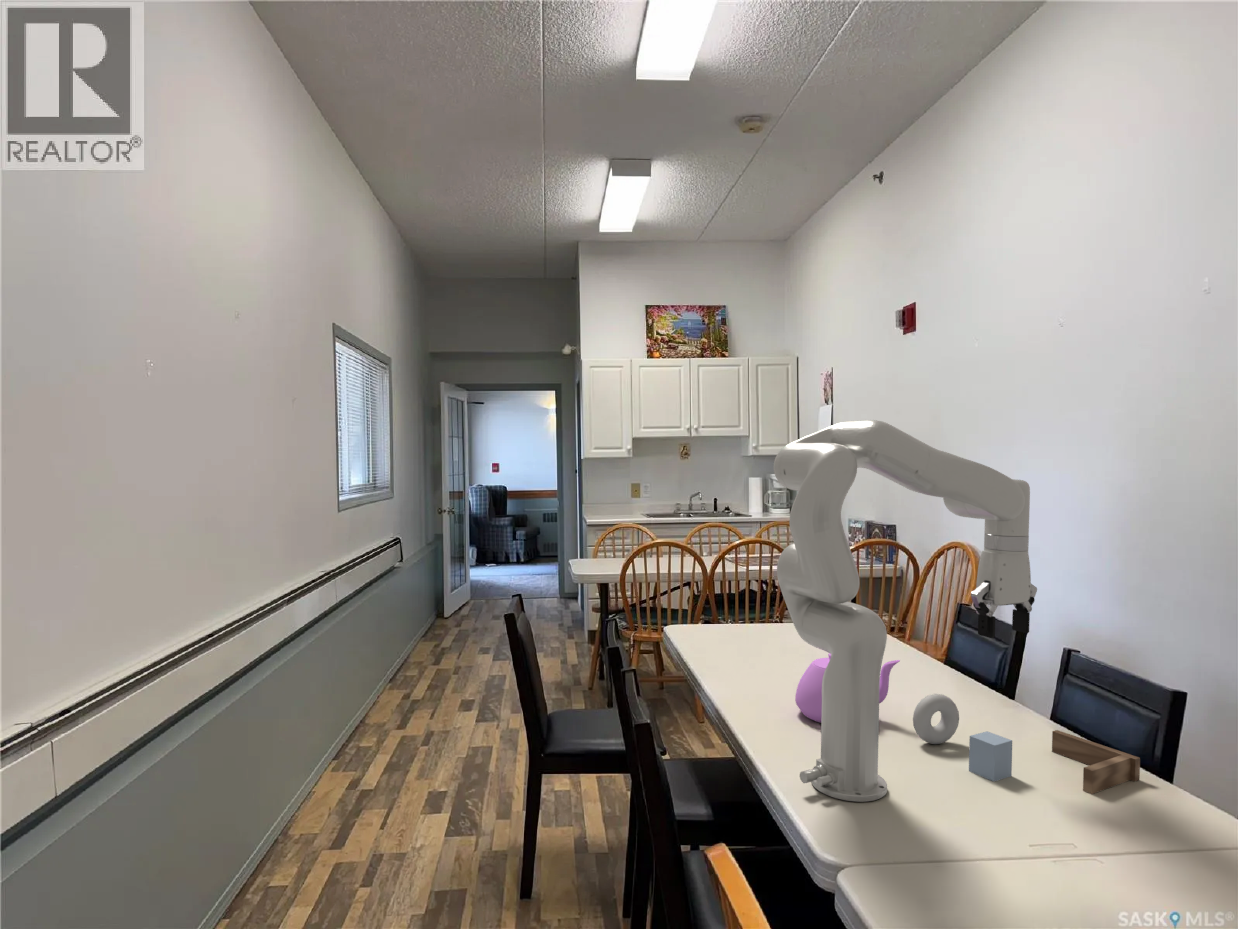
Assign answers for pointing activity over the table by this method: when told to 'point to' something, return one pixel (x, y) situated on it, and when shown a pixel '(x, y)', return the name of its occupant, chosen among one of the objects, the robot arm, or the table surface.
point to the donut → (946, 724)
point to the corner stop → (1097, 762)
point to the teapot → (811, 687)
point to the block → (990, 756)
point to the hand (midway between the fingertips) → (1003, 633)
